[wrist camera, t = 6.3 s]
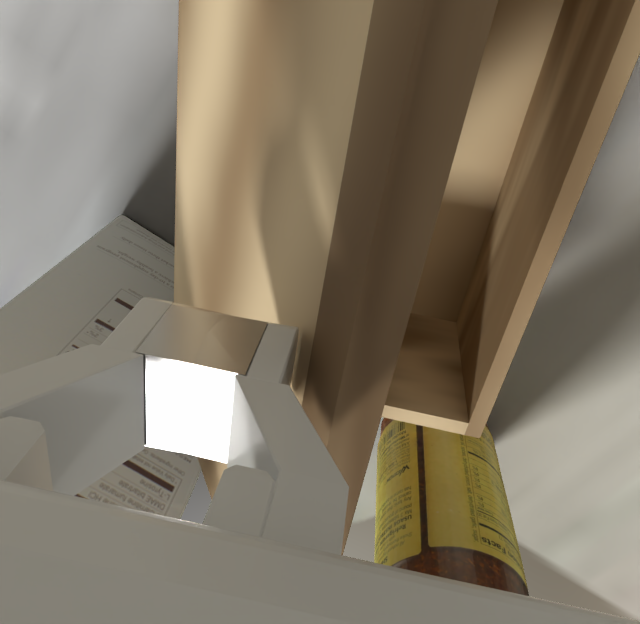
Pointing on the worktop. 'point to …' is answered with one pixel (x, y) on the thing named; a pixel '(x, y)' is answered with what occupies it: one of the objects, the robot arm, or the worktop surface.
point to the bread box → (509, 200)
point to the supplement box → (94, 328)
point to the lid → (320, 183)
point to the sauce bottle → (444, 507)
